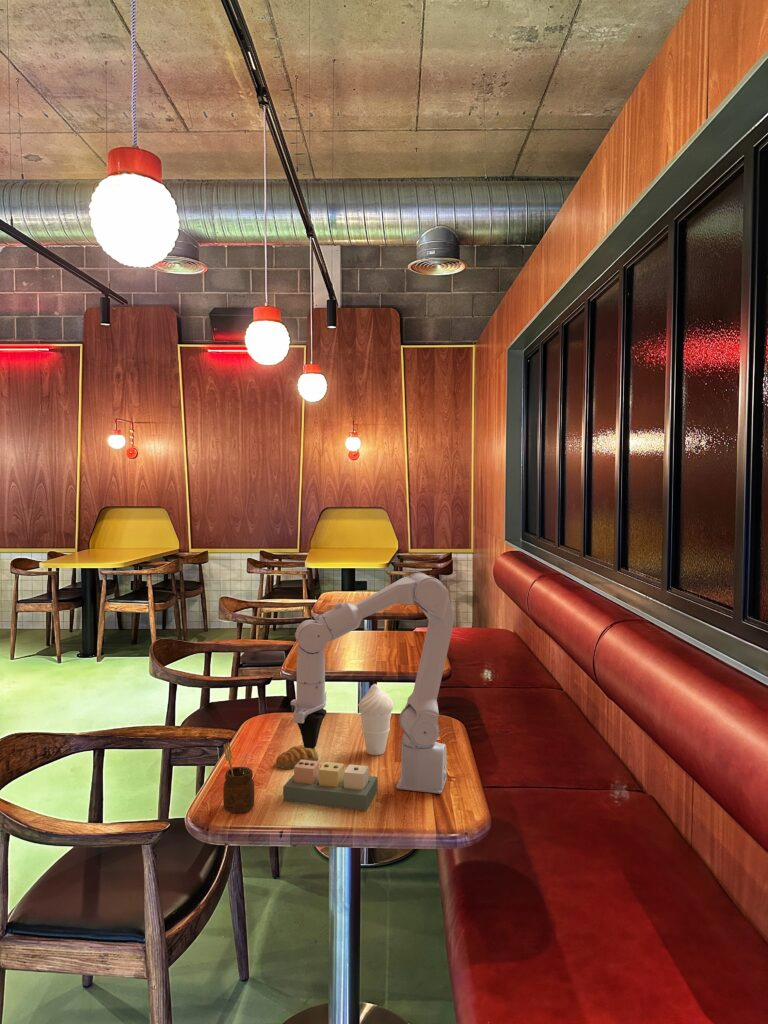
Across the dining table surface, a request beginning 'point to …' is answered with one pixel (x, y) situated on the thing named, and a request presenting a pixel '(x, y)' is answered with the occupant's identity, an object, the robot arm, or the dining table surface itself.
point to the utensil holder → (238, 786)
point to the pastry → (296, 756)
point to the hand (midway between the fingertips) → (310, 747)
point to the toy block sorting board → (330, 794)
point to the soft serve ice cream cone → (375, 719)
